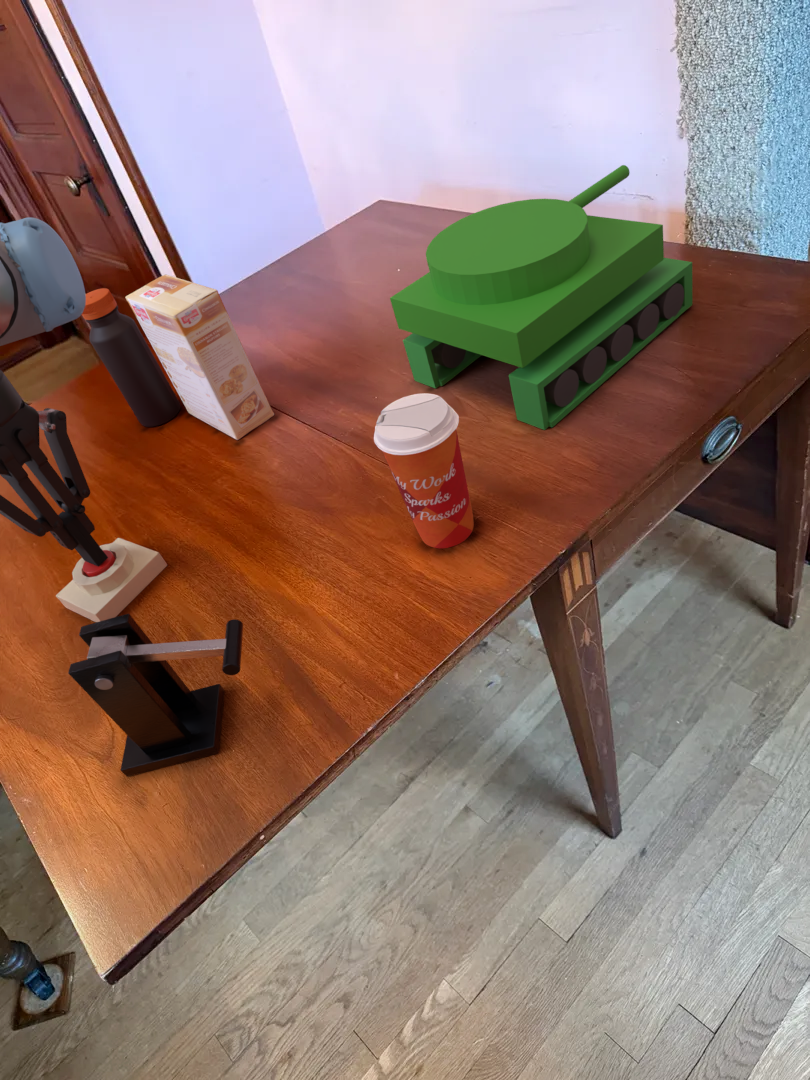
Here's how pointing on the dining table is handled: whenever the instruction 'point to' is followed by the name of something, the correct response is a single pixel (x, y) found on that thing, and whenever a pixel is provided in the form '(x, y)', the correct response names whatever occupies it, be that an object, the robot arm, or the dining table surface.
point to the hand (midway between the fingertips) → (96, 559)
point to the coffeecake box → (201, 353)
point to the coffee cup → (427, 466)
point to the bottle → (129, 360)
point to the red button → (95, 570)
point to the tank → (542, 299)
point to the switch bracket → (149, 702)
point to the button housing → (112, 581)
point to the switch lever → (177, 648)
